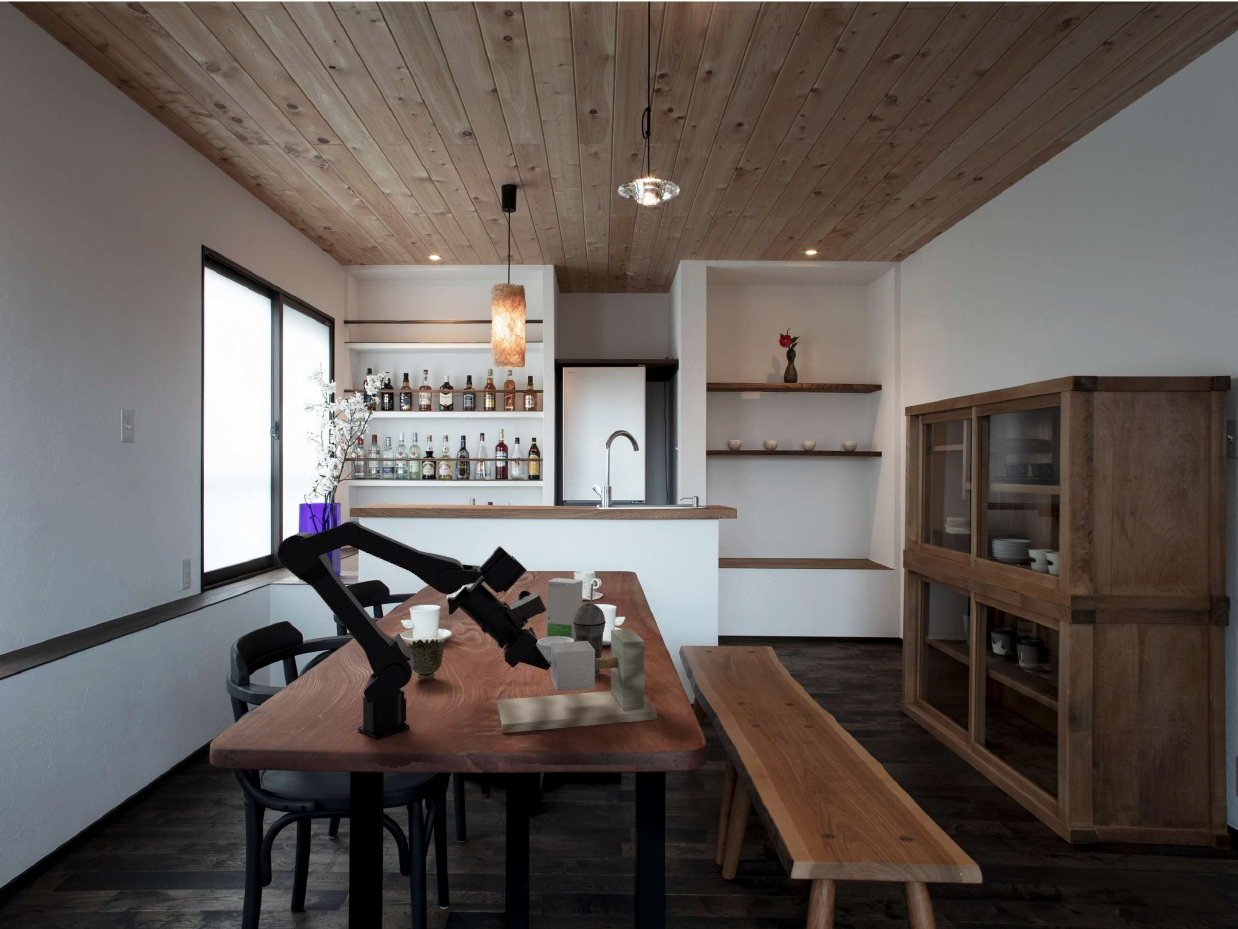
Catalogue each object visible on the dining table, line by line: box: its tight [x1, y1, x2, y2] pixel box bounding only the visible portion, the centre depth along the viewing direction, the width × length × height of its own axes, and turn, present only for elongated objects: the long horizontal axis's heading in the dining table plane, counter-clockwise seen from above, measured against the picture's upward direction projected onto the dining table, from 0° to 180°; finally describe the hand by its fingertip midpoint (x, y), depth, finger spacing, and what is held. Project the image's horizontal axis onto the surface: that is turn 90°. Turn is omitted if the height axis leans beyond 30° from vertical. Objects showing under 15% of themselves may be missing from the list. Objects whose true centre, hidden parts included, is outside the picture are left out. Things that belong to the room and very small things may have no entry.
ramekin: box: [536, 636, 575, 663], centre depth 167 cm, size 9×9×4 cm
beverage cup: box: [573, 583, 606, 678], centre depth 154 cm, size 7×7×20 cm
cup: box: [408, 638, 445, 682], centre depth 149 cm, size 8×7×8 cm
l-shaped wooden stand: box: [496, 628, 658, 734], centre depth 129 cm, size 28×13×14 cm, turn 104°
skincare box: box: [545, 577, 584, 641], centre depth 187 cm, size 8×7×16 cm
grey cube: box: [550, 641, 596, 692], centre depth 129 cm, size 7×7×7 cm
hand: (548, 667), depth 128 cm, fingers closed
